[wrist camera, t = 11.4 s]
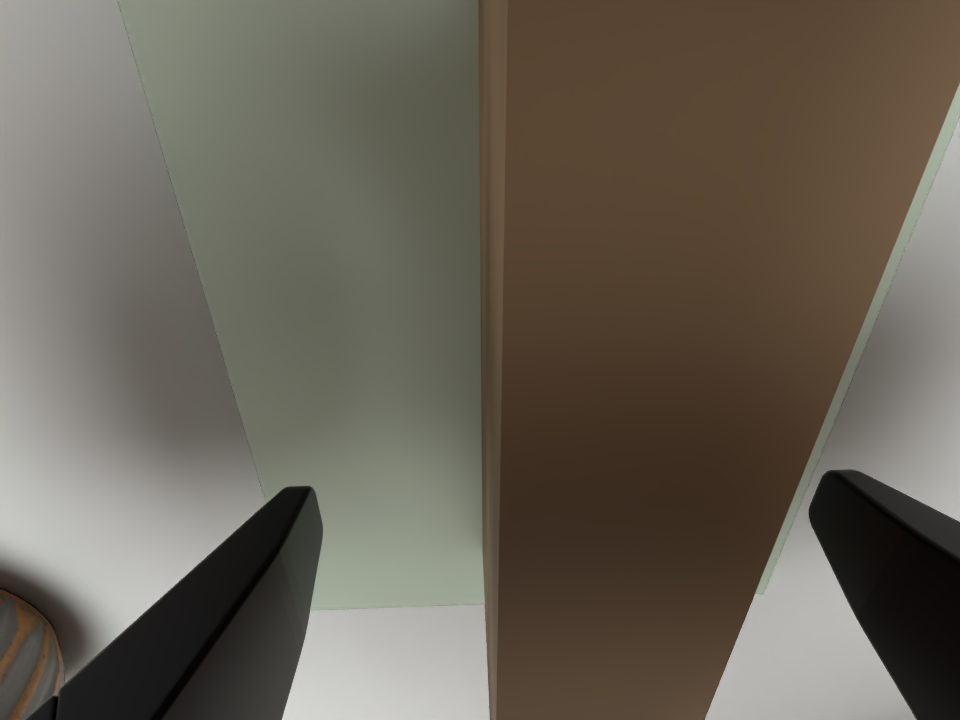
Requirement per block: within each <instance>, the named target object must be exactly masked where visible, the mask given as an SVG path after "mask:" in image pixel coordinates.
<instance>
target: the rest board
mask: <svg viewBox="0 0 960 720" xmlns="http://www.w3.org/2000/svg"><path fill="white" fill-rule="evenodd" d="M117 1H118V4H119V7H120V11H121V14H122V18H123V21H124V24H125V28H126V31H127V34H128V38H129V41H130V45H131V48H132V51H133V55H134V58H135V62H136V65H137V68H138V72H139V75H140V78H141V82H142V85H143V89H144V92H145V95H146V99H147V102H148V106H149V109H150V112H151V116H152V119H153V122H154V126H155V129H156V133H157V136H158V139H159V143H160V146H161V150H162V153H163V156H164V160H165V163H166V167H167V170H168V173H169V177H170V180H171V183H172V187H173V190H174V194H175V197H176V200H177V204H178V207H179V211H180V214H181V217H182V221H183V224H184V227H185V231H186V234H187V238H188V241H189V244H190V248H191V251H192V255H193V258H194V261H195V265H196V268H197V272H198V275H199V278H200V282H201V285H202V288H203V292H204V295H205V299H206V302H207V305H208V309H209V312H210V316H211V319H212V322H213V326H214V329H215V332H216V336H217V339H218V343H219V346H220V349H221V353H222V356H223V360H224V363H225V366H226V370H227V373H228V377H229V380H230V383H231V387H232V390H233V393H234V397H235V400H236V404H237V407H238V410H239V414H240V417H241V421H242V424H243V427H244V431H245V434H246V437H247V441H248V444H249V448H250V451H251V454H252V458H253V461H254V465H255V468H256V471H257V475H258V478H259V482H260V485H261V488H262V492H263V495H264V498H265V502H266V503H267V502H269V501H270V500H271V499H272V498H273V497H274V496H275V495H276V494H277V493H279V492H280V491H281V490H282V489H284V488H285V487H289V486H311V487H313V489H314V490H315V492H316V496H317V501H318V505H319V509H320V514H321V518H322V523H323V539H322V545H321V551H320V557H319V562H318V568H317V574H316V579H315V585H314V591H313V596H312V602H311V608H310V610H332V609H360V608H388V607H416V606H444V605H472V604H485V597H484V575H483V553H482V432H481V293H480V155H479V17H478V0H117ZM959 118H960V84H959V86H958V89H957V91H956V94H955V96H954V99H953V101H952V104H951V106H950V109H949V111H948V114H947V116H946V119H945V121H944V124H943V126H942V129H941V131H940V134H939V136H938V139H937V141H936V143H935V146H934V148H933V151H932V153H931V156H930V158H929V161H928V163H927V166H926V168H925V171H924V173H923V176H922V178H921V181H920V183H919V186H918V188H917V191H916V193H915V196H914V198H913V201H912V203H911V206H910V208H909V211H908V213H907V216H906V218H905V221H904V223H903V226H902V228H901V231H900V233H899V236H898V238H897V241H896V243H895V246H894V248H893V251H892V253H891V256H890V258H889V261H888V263H887V266H886V268H885V271H884V273H883V276H882V278H881V281H880V283H879V286H878V288H877V291H876V293H875V296H874V298H873V301H872V303H871V306H870V308H869V311H868V313H867V316H866V318H865V321H864V323H863V326H862V328H861V331H860V333H859V336H858V338H857V341H856V343H855V345H854V348H853V350H852V353H851V355H850V358H849V360H848V363H847V365H846V368H845V370H844V373H843V375H842V378H841V380H840V383H839V385H838V388H837V390H836V393H835V395H834V398H833V400H832V403H831V405H830V408H829V410H828V413H827V415H826V418H825V420H824V423H823V425H822V428H821V430H820V433H819V435H818V438H817V440H816V443H815V445H814V448H813V450H812V453H811V455H810V458H809V460H808V463H807V465H806V468H805V470H804V473H803V475H802V478H801V480H800V483H799V485H798V488H797V490H796V493H795V495H794V498H793V500H792V503H791V505H790V508H789V510H788V513H787V515H786V518H785V520H784V523H783V525H782V528H781V530H780V533H779V535H778V538H777V540H776V542H775V545H774V547H773V550H772V552H771V555H770V557H769V560H768V562H767V565H766V567H765V570H764V572H763V575H762V577H761V580H760V582H759V585H758V587H757V590H756V592H755V594H764V592H765V589H766V587H767V585H768V582H769V580H770V577H771V575H772V572H773V570H774V568H775V565H776V563H777V560H778V558H779V555H780V553H781V551H782V548H783V546H784V543H785V541H786V538H787V536H788V534H789V531H790V529H791V526H792V524H793V521H794V519H795V517H796V514H797V512H798V509H799V507H800V504H801V502H802V499H803V497H804V495H805V492H806V490H807V487H808V485H809V482H810V480H811V478H812V475H813V473H814V470H815V468H816V465H817V463H818V461H819V458H820V456H821V453H822V451H823V448H824V446H825V444H826V441H827V439H828V436H829V434H830V431H831V429H832V427H833V424H834V422H835V419H836V417H837V414H838V412H839V410H840V407H841V405H842V402H843V400H844V397H845V395H846V392H847V390H848V388H849V385H850V383H851V380H852V378H853V375H854V373H855V371H856V368H857V366H858V363H859V361H860V358H861V356H862V354H863V351H864V349H865V346H866V344H867V341H868V339H869V337H870V334H871V332H872V329H873V327H874V324H875V322H876V320H877V317H878V315H879V312H880V310H881V307H882V305H883V303H884V300H885V298H886V295H887V293H888V290H889V288H890V285H891V283H892V281H893V278H894V276H895V273H896V271H897V268H898V266H899V264H900V261H901V259H902V256H903V254H904V251H905V249H906V247H907V244H908V242H909V239H910V237H911V234H912V232H913V230H914V227H915V225H916V222H917V220H918V217H919V215H920V213H921V210H922V208H923V205H924V203H925V200H926V198H927V196H928V193H929V191H930V188H931V186H932V183H933V181H934V178H935V176H936V174H937V171H938V169H939V166H940V164H941V161H942V159H943V157H944V154H945V152H946V149H947V147H948V144H949V142H950V140H951V137H952V135H953V132H954V130H955V127H956V125H957V123H958V120H959Z"/></svg>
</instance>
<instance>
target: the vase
mask: <svg viewBox="0 0 960 720" xmlns="http://www.w3.org/2000/svg"><path fill="white" fill-rule="evenodd" d="M64 684H65V675H64V663H63V659H62V655H61V651H60V647H59V643H58V640H57V637H56V634H55V632H54V630H53V628H52V626H51V624H50V623H49V622H48V620H47V619H46V618H45V617H44V616H43V615H42V614H41V613H40V612H39V611H38V610H37V609H35V608H34V607H33V606H31V605H30V604H28V603H27V602H25V601H24V600H22V599H20V598H18V597H17V596H15V595H13V594H11V593H8V592H6V591H4V590H1V589H0V720H25V719H26V718H27V717H28V716H29V715H31V714H32V713H33V712H34V711H35V710H36V709H37V708H38V707H39V706H41V705H42V704H43V703H44V702H45V701H46V700H47V699H48V698H50V697H51V696H53V695H57V696H58V692H59V689H60V688H61V687H62V686H63V685H64Z"/></svg>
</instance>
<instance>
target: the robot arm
mask: <svg viewBox="0 0 960 720" xmlns="http://www.w3.org/2000/svg"><path fill="white" fill-rule="evenodd" d="M809 519H810V523H811V526H812V528H813V530H814V532H815V534H816V536H817V538H818V540H819V542H820V544H821V546H822V548H823V551H824V553H825V555H826V557H827V559H828V561H829V563H830V565H831V567H832V569H833V571H834V574H835V576H836V578H837V580H838V582H839V584H840V586H841V588H842V590H843V592H844V594H845V596H846V599H847V601H848V603H849V605H850V607H851V608H852V610H853V612H854V614H855V616H856V618H857V620H858V622H859V623H860V625H861V627H862V629H863V630H864V632H865V634H866V636H867V637H868V639H869V641H870V642H871V644H872V646H873V647H874V649H875V651H876V652H877V654H878V656H879V657H880V659H881V661H882V662H883V664H884V666H885V667H886V669H887V671H888V672H889V674H890V676H891V677H892V679H893V681H894V683H895V684H896V686H897V688H898V689H899V691H900V693H901V694H902V696H903V698H904V699H905V701H906V703H907V704H908V706H909V708H910V709H911V711H912V713H913V714H914V716H915V718H916V719H917V720H960V522H959V521H957V520H955V519H953V518H951V517H949V516H947V515H945V514H943V513H941V512H939V511H937V510H935V509H933V508H931V507H929V506H927V505H925V504H923V503H921V502H919V501H917V500H915V499H913V498H911V497H909V496H907V495H905V494H903V493H901V492H899V491H897V490H895V489H893V488H891V487H889V486H887V485H885V484H883V483H881V482H879V481H877V480H875V479H873V478H872V477H870V476H868V475H866V474H864V473H862V472H859V471H856V470H830V471H827V472H826V473H825V474H824V475H823V476H822V478H821V480H820V483H819V485H818V487H817V490H816V492H815V495H814V497H813V499H812V502H811V504H810V507H809ZM322 539H323V523H322V518H321V514H320V509H319V505H318V501H317V496H316V492H315V490H314V489H313V487H311V486H289V487H285V488H284V489H282V490H281V491H280V492H279V493H277V494H276V495H275V496H274V497H273V498H272V499H271V500H270V501H269V502H267V503H266V504H265V505H264V506H263V507H262V508H261V509H260V510H258V511H257V512H256V513H255V514H254V515H253V516H252V517H251V518H250V519H248V520H247V521H246V522H245V523H244V524H243V525H242V526H241V527H240V528H238V529H237V530H236V531H235V532H234V533H233V534H232V535H231V536H229V537H228V538H227V539H226V540H225V541H224V542H223V543H222V544H221V545H219V546H218V547H217V548H216V549H215V550H214V551H213V552H212V553H211V554H209V555H208V556H207V557H206V558H205V559H204V560H203V561H202V562H200V563H199V564H198V565H197V566H196V567H195V568H194V569H193V570H192V571H190V572H189V573H188V574H187V575H186V576H185V577H184V578H183V579H181V580H180V581H179V582H178V583H177V584H176V585H175V586H174V587H173V588H171V589H170V590H169V591H168V592H167V593H166V594H165V595H164V596H163V597H161V598H160V599H159V600H158V601H157V602H156V603H155V604H154V605H152V606H151V607H150V608H149V609H148V610H147V611H146V612H145V613H144V614H142V615H141V616H140V617H139V618H138V619H137V620H136V621H135V622H134V623H132V624H131V625H130V626H129V627H128V628H127V629H126V630H125V631H123V632H122V633H121V634H120V635H119V636H118V637H117V638H116V639H115V640H113V641H112V642H111V643H110V644H109V645H108V646H107V647H106V648H105V649H103V650H102V651H101V652H100V653H99V654H98V655H97V656H96V657H94V658H93V659H92V660H91V661H90V662H89V663H88V664H87V665H86V666H84V667H83V668H82V669H81V670H80V671H79V672H78V673H77V674H76V675H74V676H73V677H72V678H71V679H70V680H69V681H68V682H67V683H65V684H64V685H63V686H62V687H61V688H60V689H59V692H58V696H57V695H53V696H51V697H50V698H48V699H47V700H46V701H45V702H44V703H43V704H42V705H41V706H39V707H38V708H37V709H36V710H35V711H34V712H33V713H32V714H31V715H29V716H28V717H27V718H26V719H25V720H282V717H283V713H284V710H285V706H286V703H287V700H288V696H289V693H290V689H291V686H292V682H293V679H294V675H295V672H296V668H297V665H298V661H299V658H300V655H301V651H302V647H303V643H304V639H305V635H306V630H307V624H308V619H309V614H310V608H311V602H312V596H313V591H314V585H315V579H316V574H317V568H318V562H319V557H320V551H321V545H322Z"/></svg>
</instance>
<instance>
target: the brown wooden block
mask: <svg viewBox="0 0 960 720" xmlns="http://www.w3.org/2000/svg"><path fill="white" fill-rule="evenodd" d="M478 17H479V155H480V293H481V432H482V553H483V575H484V597H485V620H486V642H487V664H488V686H489V709H490V720H705V717H706V715H707V712H708V710H709V707H710V705H711V702H712V700H713V697H714V695H715V692H716V690H717V687H718V685H719V682H720V680H721V677H722V675H723V672H724V670H725V667H726V665H727V662H728V660H729V657H730V655H731V652H732V650H733V647H734V645H735V642H736V640H737V637H738V635H739V632H740V630H741V627H742V625H743V622H744V620H745V617H746V615H747V612H748V610H749V607H750V605H751V602H752V600H753V597H754V595H755V592H756V590H757V587H758V585H759V582H760V580H761V577H762V575H763V572H764V570H765V567H766V565H767V562H768V560H769V557H770V555H771V552H772V550H773V547H774V545H775V542H776V540H777V538H778V535H779V533H780V530H781V528H782V525H783V523H784V520H785V518H786V515H787V513H788V510H789V508H790V505H791V503H792V500H793V498H794V495H795V493H796V490H797V488H798V485H799V483H800V480H801V478H802V475H803V473H804V470H805V468H806V465H807V463H808V460H809V458H810V455H811V453H812V450H813V448H814V445H815V443H816V440H817V438H818V435H819V433H820V430H821V428H822V425H823V423H824V420H825V418H826V415H827V413H828V410H829V408H830V405H831V403H832V400H833V398H834V395H835V393H836V390H837V388H838V385H839V383H840V380H841V378H842V375H843V373H844V370H845V368H846V365H847V363H848V360H849V358H850V355H851V353H852V350H853V348H854V345H855V343H856V341H857V338H858V336H859V333H860V331H861V328H862V326H863V323H864V321H865V318H866V316H867V313H868V311H869V308H870V306H871V303H872V301H873V298H874V296H875V293H876V291H877V288H878V286H879V283H880V281H881V278H882V276H883V273H884V271H885V268H886V266H887V263H888V261H889V258H890V256H891V253H892V251H893V248H894V246H895V243H896V241H897V238H898V236H899V233H900V231H901V228H902V226H903V223H904V221H905V218H906V216H907V213H908V211H909V208H910V206H911V203H912V201H913V198H914V196H915V193H916V191H917V188H918V186H919V183H920V181H921V178H922V176H923V173H924V171H925V168H926V166H927V163H928V161H929V158H930V156H931V153H932V151H933V148H934V146H935V143H936V141H937V139H938V136H939V134H940V131H941V129H942V126H943V124H944V121H945V119H946V116H947V114H948V111H949V109H950V106H951V104H952V101H953V99H954V96H955V94H956V91H957V89H958V86H959V84H960V0H478Z"/></svg>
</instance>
